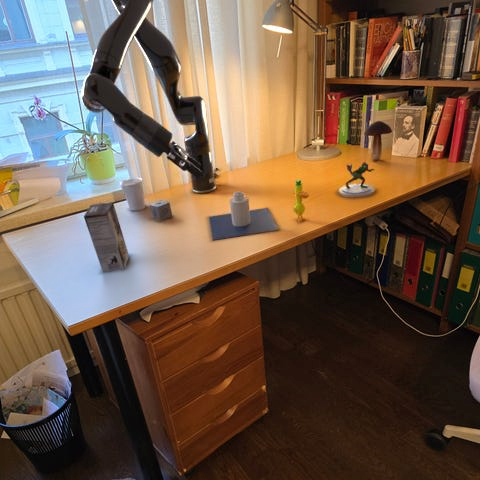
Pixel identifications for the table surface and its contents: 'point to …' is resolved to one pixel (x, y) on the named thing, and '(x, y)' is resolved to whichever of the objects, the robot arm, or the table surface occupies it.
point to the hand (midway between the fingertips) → (199, 171)
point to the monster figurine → (357, 189)
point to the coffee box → (107, 236)
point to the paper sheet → (226, 229)
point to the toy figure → (299, 200)
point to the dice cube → (161, 210)
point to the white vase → (240, 209)
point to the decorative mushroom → (377, 137)
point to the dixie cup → (133, 193)
